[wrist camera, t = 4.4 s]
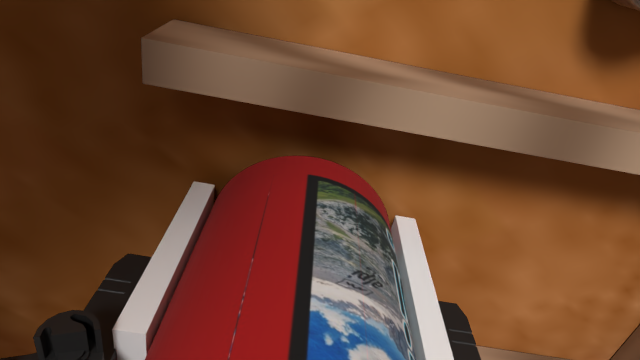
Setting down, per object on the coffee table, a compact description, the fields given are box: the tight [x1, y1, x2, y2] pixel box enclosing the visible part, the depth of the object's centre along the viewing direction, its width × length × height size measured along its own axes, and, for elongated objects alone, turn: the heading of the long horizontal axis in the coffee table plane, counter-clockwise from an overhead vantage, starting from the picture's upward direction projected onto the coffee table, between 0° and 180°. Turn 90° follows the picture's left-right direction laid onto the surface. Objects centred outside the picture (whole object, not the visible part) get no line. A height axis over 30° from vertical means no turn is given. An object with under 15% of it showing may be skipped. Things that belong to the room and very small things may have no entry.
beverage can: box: [145, 156, 416, 360], centre depth 11 cm, size 7×7×12 cm
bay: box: [141, 19, 640, 360], centre depth 16 cm, size 22×13×2 cm, turn 80°
